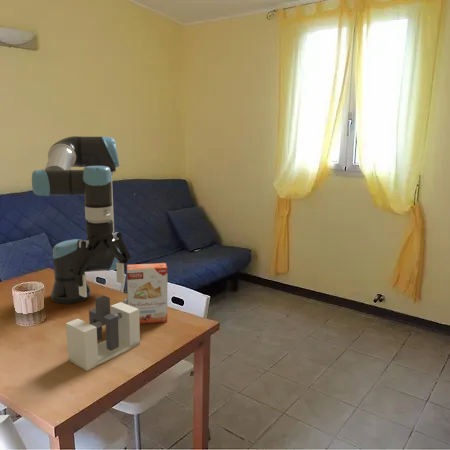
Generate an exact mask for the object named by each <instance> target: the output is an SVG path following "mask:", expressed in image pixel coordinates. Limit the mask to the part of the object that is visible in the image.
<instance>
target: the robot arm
mask: <svg viewBox="0 0 450 450" xmlns="http://www.w3.org/2000/svg"><path fill="white" fill-rule="evenodd" d="M116 144H117V143H116V141H115V139H114V138H113V137H111V136H79V135H78V136H68V137H65V138H63V139H60V140H58V141H57V142H55V143H53V145H51V146H50V148H49V150H48V153H47V158H48V161H47V163H46V165H45V168H44V169H36V170H33V171H32V172H31V173H32V174H31V186H32V187H31V188H32V192H33V193H34V195H37V196H46V197H49V196H70V195H71V196H83V197H84V214H85V217H84V218H85V220H86V222H85V232H86V235H87V239H86V240H85V239H84V240H83V239H77V238H74V239H67V240H64V241H61V242H58V243H56V244H55V245H54V246H53V248H52V259H53V271H54V273H53V274H54V283H53V286H52V289H51V294H50V297H51V301H52V302H54V303H57V304H66V305H67V304H69V305H70V304H77V303H79V302H83V301H86V300H87V299H89V298H90V297H91V288H90V287H91V286H89V283H88V281H87V275H86V273H87V272H104V271H113V270H116V283H119V284H122V285H124V284H125V272H126V271H127V266H126V264H128V261H129V260H131V258H132V256H131V254H130V253H129V250H128V248H127V246H126V245H125V242H124V240H123V236H122V233H121V232H118V231H115V221H114V220H115V218H114V214H115V213H114V196H113V194H114V193H113V190H114V189H113V175H114V174H115V173H116V171H117V170H116V168H119V167H120V162H119V154H118V149H117V145H116ZM72 168H83V169H72Z"/></svg>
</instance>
